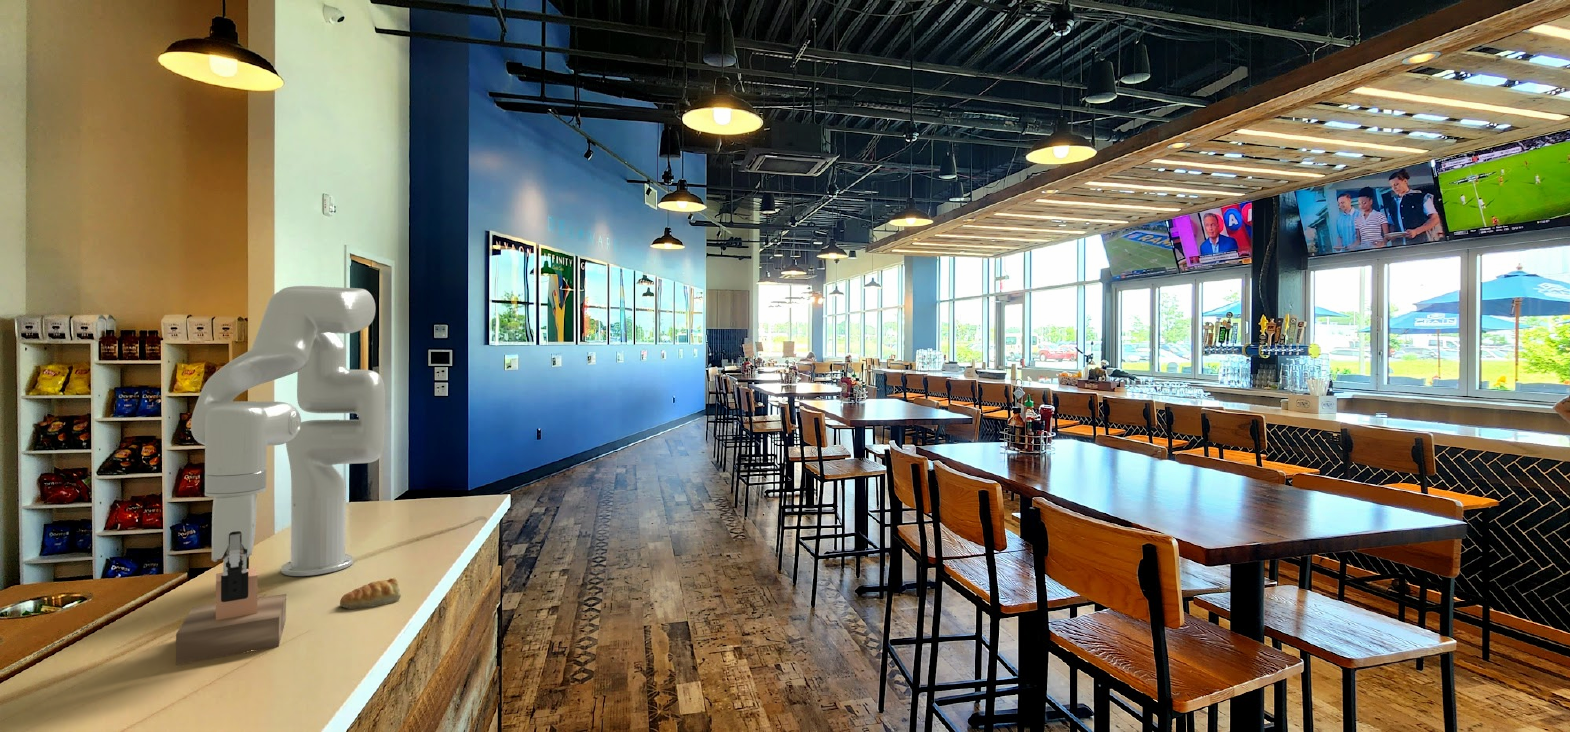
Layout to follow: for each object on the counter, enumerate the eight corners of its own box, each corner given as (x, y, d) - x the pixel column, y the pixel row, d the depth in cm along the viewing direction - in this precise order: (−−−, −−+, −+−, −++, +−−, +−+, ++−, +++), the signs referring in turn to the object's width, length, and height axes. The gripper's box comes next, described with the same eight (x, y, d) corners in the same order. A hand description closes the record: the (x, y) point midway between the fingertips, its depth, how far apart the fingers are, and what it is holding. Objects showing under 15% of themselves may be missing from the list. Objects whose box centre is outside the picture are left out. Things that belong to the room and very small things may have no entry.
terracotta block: (215, 611, 105) (216, 573, 105) (255, 604, 108) (256, 567, 108) (215, 620, 101) (215, 581, 101) (257, 612, 105) (257, 575, 105)
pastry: (344, 615, 116) (344, 593, 116) (335, 605, 121) (336, 584, 121) (403, 601, 123) (403, 581, 123) (393, 592, 128) (393, 573, 128)
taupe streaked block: (192, 638, 107) (193, 607, 106) (285, 622, 113) (285, 593, 113) (175, 667, 96) (176, 633, 96) (278, 649, 103) (278, 617, 103)
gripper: (208, 477, 109) (207, 580, 109) (201, 495, 95) (200, 613, 96) (265, 473, 114) (265, 572, 114) (267, 489, 100) (266, 601, 100)
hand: (235, 590), depth 105 cm, fingers open, 9 cm apart
